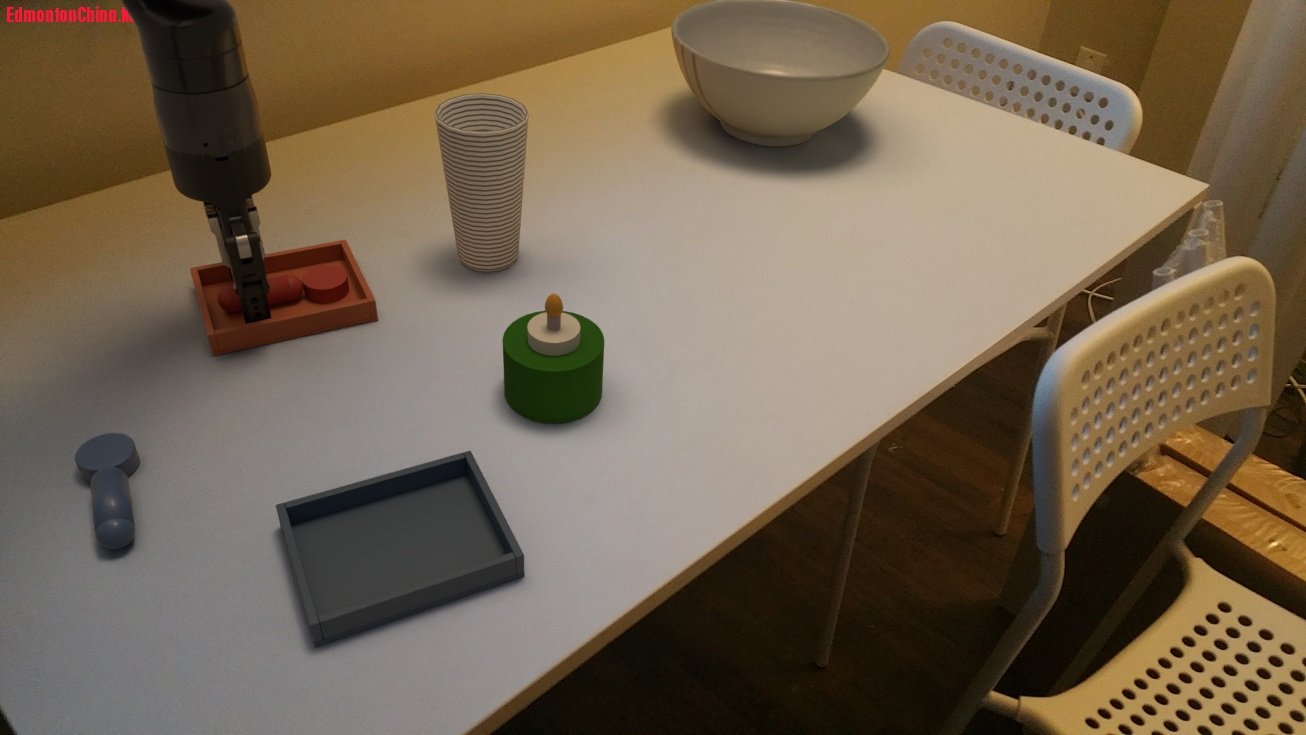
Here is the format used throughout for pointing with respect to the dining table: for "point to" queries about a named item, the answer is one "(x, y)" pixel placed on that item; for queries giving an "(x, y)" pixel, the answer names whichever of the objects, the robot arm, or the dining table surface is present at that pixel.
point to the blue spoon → (110, 486)
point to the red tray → (288, 316)
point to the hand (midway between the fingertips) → (251, 300)
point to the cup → (484, 175)
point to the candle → (553, 364)
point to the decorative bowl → (776, 65)
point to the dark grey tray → (397, 545)
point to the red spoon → (296, 288)
